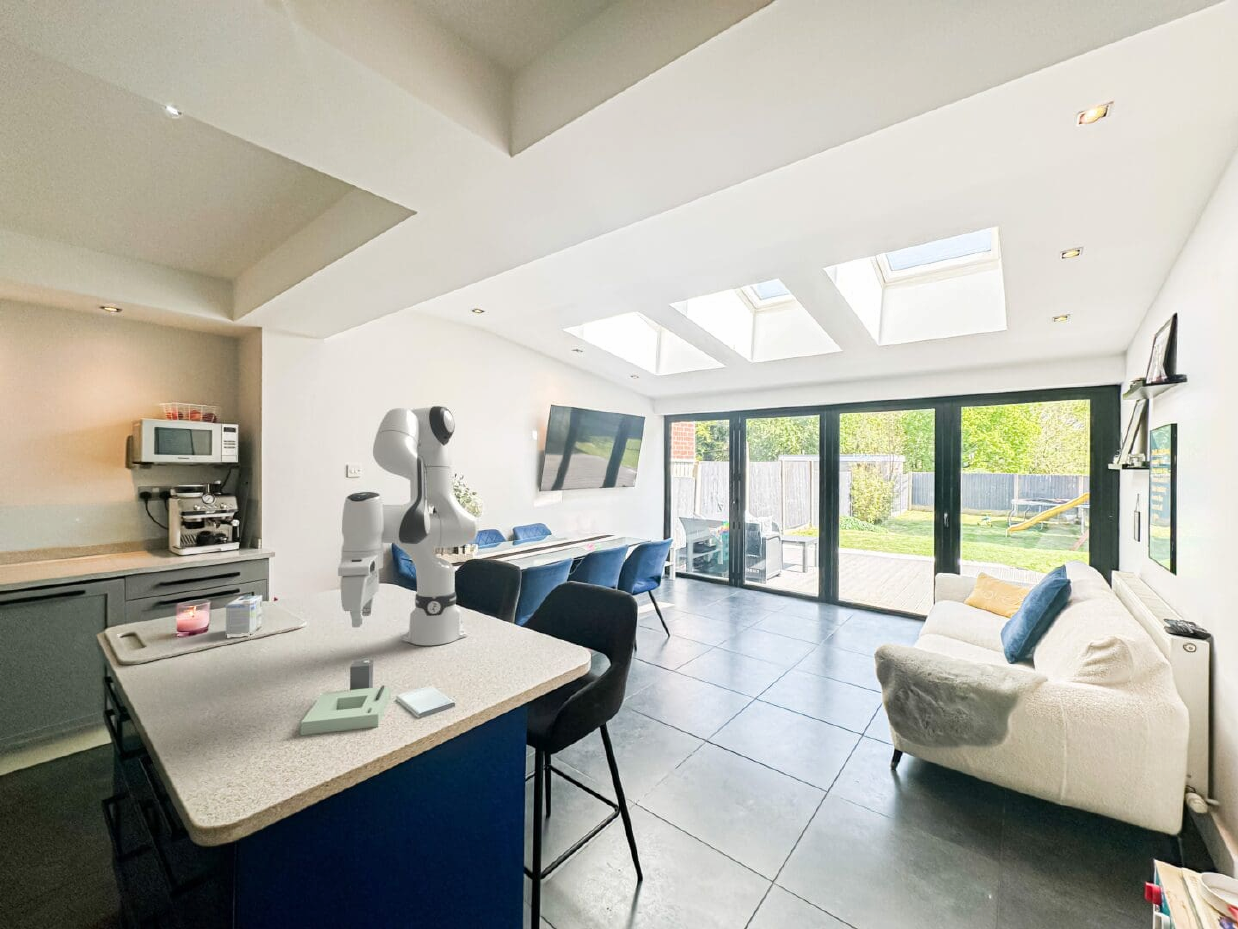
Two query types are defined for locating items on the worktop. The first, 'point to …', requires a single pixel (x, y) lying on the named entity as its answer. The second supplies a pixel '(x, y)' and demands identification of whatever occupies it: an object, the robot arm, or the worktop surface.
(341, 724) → the outlet plate
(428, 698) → the hard drive
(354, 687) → the plug
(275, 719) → the worktop surface
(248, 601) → the light bulb box
